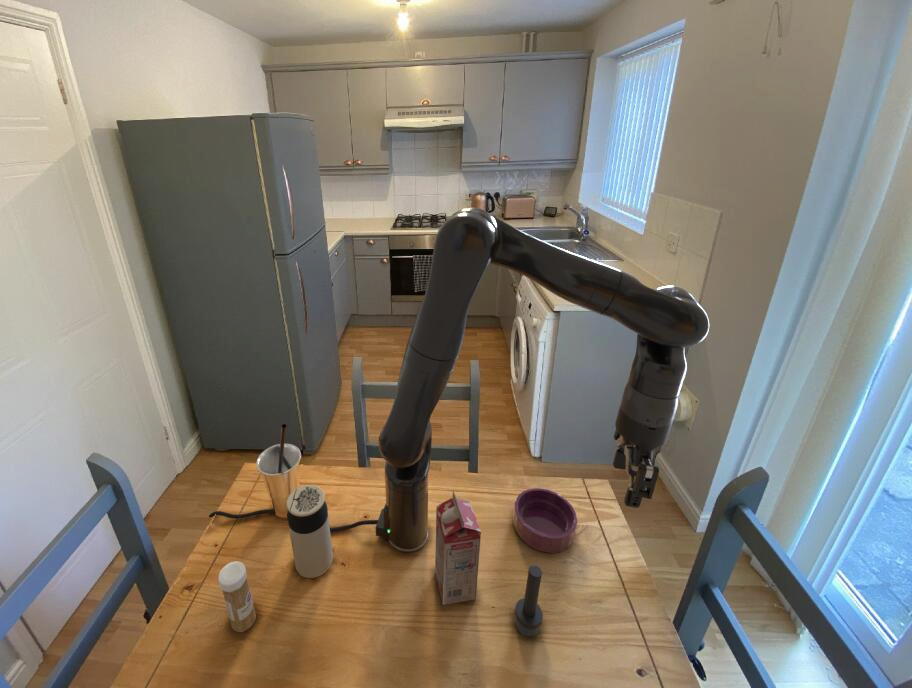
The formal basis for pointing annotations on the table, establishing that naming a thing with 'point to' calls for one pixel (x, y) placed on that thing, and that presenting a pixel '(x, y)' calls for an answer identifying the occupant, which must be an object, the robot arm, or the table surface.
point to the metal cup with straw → (280, 472)
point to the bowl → (544, 520)
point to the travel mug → (309, 531)
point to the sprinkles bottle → (237, 596)
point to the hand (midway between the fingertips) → (624, 485)
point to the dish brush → (530, 605)
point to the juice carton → (456, 550)
